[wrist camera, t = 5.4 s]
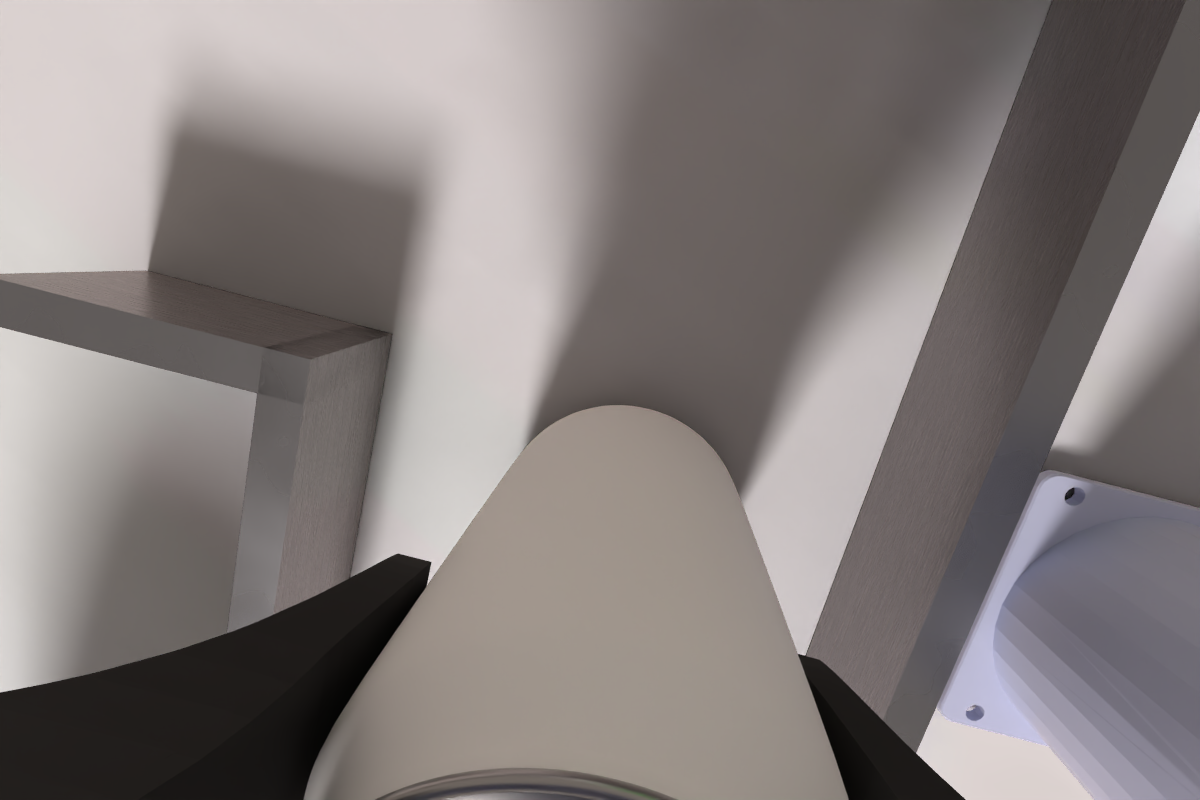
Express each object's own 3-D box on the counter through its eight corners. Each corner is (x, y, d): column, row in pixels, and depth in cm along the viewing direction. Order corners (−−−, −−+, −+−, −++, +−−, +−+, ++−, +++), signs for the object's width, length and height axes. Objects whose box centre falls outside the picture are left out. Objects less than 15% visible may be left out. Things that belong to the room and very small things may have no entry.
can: (552, 644, 18) (374, 1325, 7) (470, 443, 17) (74, 832, 5) (768, 584, 17) (1009, 1256, 6) (695, 367, 16) (807, 641, 4)
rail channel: (1154, -145, 14) (1394, -331, 10) (790, 785, 20) (835, 935, 15) (200, -399, 14) (-1, -707, 9) (118, 614, 20) (-30, 716, 15)
